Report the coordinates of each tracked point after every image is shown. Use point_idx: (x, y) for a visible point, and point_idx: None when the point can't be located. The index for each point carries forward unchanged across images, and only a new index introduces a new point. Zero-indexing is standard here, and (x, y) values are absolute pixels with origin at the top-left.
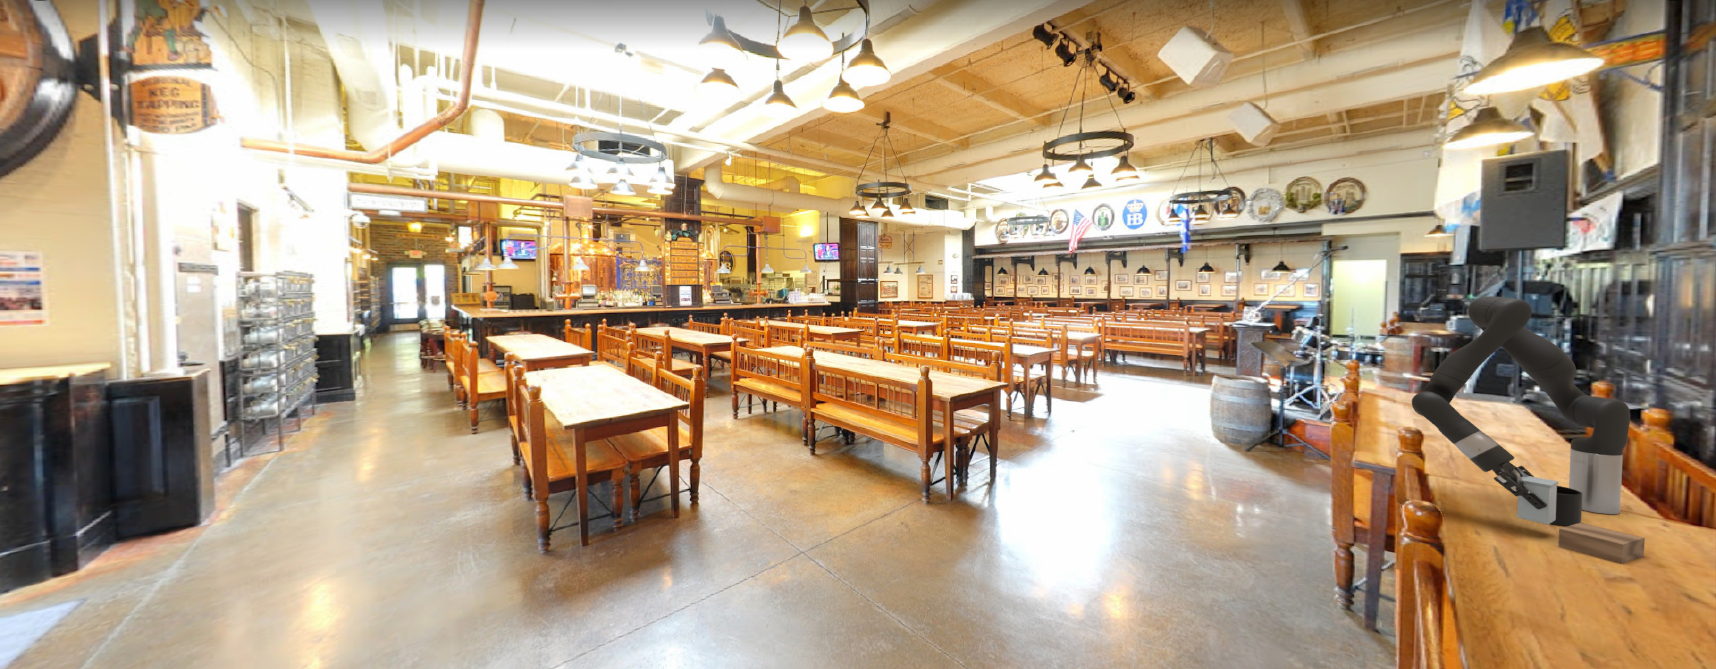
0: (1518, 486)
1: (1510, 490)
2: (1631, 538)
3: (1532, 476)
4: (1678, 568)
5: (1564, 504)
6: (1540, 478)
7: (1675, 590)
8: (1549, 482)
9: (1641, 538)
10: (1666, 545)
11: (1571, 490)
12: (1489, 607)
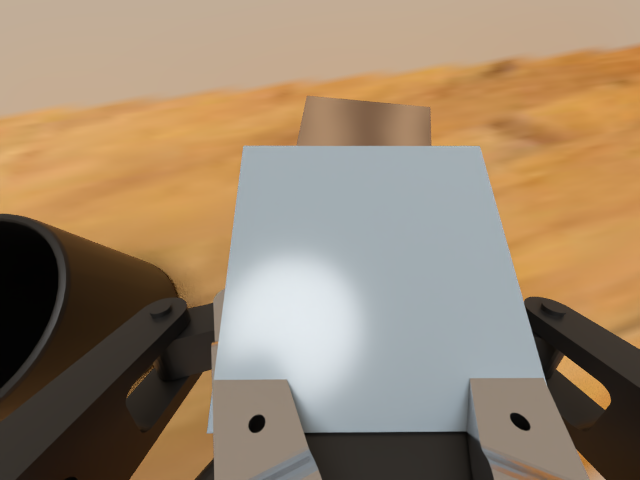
0: (636, 350)
1: (593, 403)
2: (345, 107)
3: (92, 379)
4: (337, 98)
5: (113, 267)
6: (250, 264)
7: (485, 83)
8: (365, 175)
9: (320, 98)
10: (173, 131)
11: None
12: None
